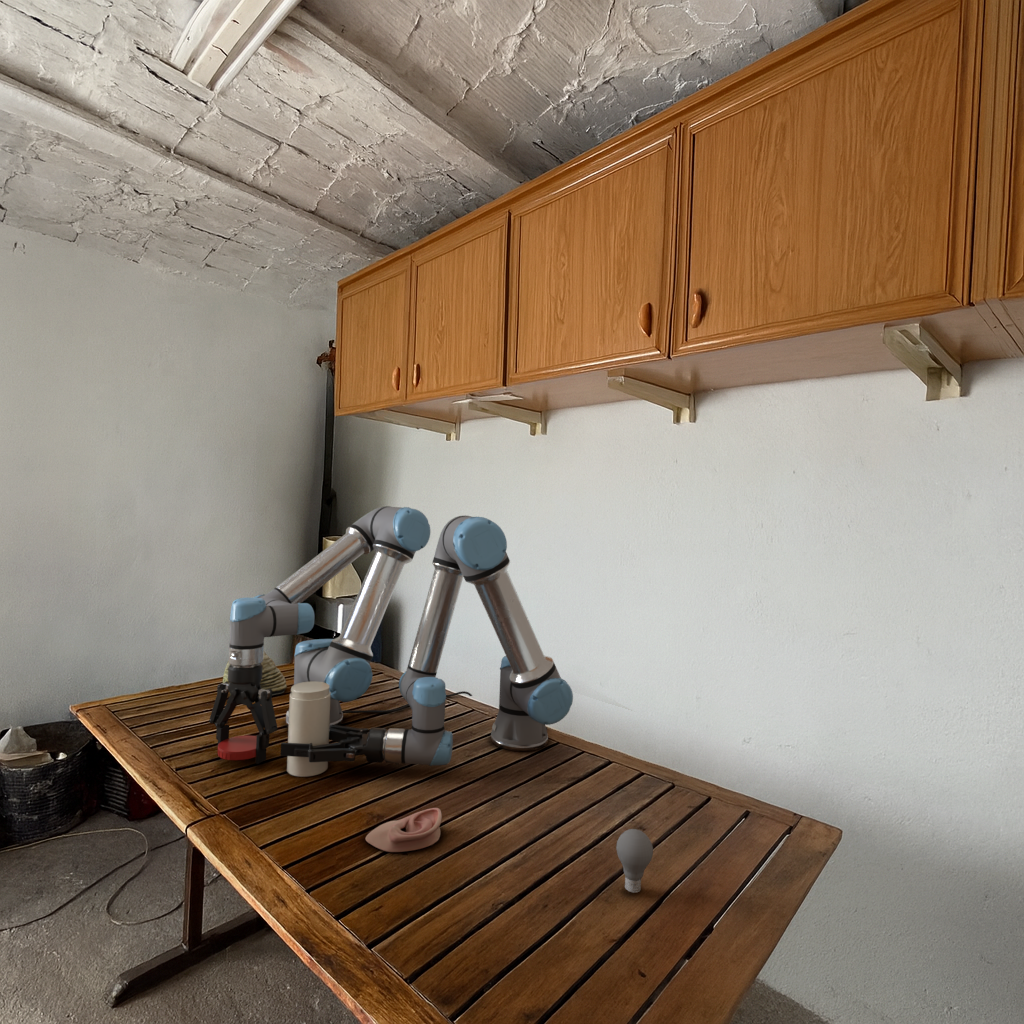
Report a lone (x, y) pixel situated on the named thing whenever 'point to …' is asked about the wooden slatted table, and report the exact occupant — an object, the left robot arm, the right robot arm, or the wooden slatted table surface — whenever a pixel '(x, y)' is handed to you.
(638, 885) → the light bulb
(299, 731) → the jar
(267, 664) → the fossil
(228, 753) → the lid
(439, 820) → the anatomical model
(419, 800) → the wooden slatted table surface
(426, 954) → the wooden slatted table surface
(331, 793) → the wooden slatted table surface
